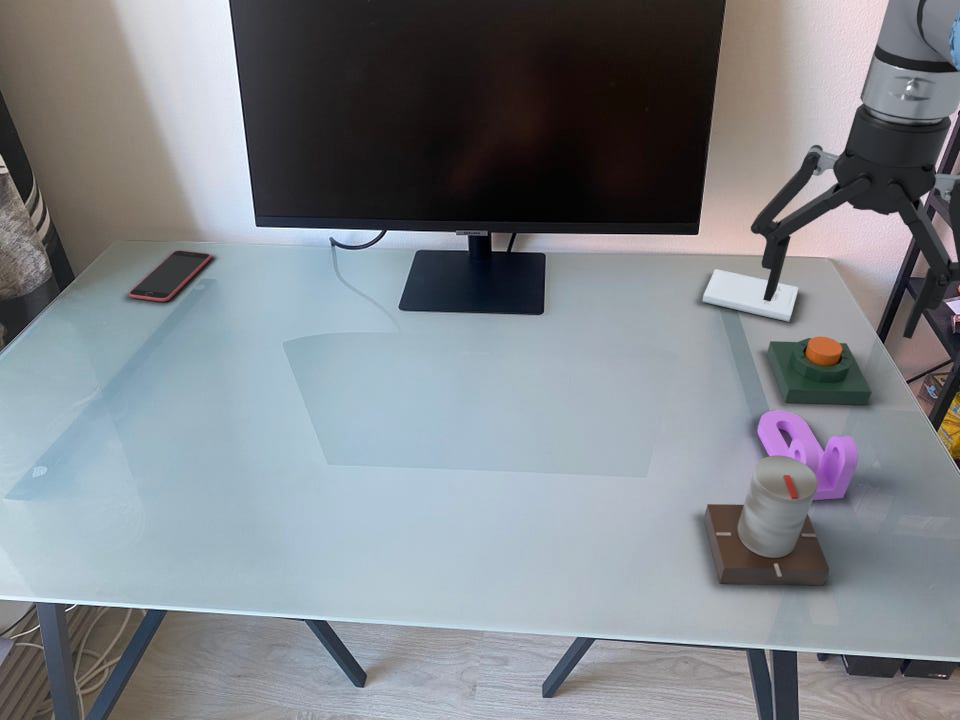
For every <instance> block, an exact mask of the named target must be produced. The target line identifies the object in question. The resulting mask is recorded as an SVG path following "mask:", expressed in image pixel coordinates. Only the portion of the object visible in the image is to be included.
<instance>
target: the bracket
mask: <svg viewBox="0 0 960 720" xmlns="http://www.w3.org/2000/svg"><path fill="white" fill-rule="evenodd" d="M780 430H783V431H785V432H786V433H787V434H788V435H789V436H790V438H791V442H790V445H789V446H788V443H787V442H786V440H785V438H784V437H783V435H782V433H781V431H780ZM756 431H757V435H758V437H759V440H760V441H761V443H762V445H763V447H764V448H765V451H766V453H767V454H768V456H774V455H780V456H787V457H791V458H794V459H796V460H798V461H800V462H802V463H804V464H805V465H806V466H808V467H809V468H810V469H811V470H812V471H813V473H814V474H815V476H816V478H817V482H818V486H817V490H816V493H815V495H814V498H813V500H812V501H820V500H834V499H835V500H837V499H844V497H845V494H846V492H847V489H848V487H849V485H850V483H851V480H852V477H853V476H854V473H855V471H856V468H857V466H858V462H859V451H858V447H857V444H856V442H855V440H854V438H852V436H851V435H847V434H846V435H845V434H844V435H832V436H831V437H830V438H829V439H828V441H827V444H826V447H825V449H824V450H823V448H822V446H821V444H820V443H819V441H818V440H817V438H816V436H815V435H814V433H813V431H812V430H811V428H810V427H809V425H808V423H807V422H806V421H805V420H804V419H803V418H802V417H801V416H799V415H797V414H795V413H793V412H791V411H786V410H781V409H780V410H779V409H775V410H769V411H766V412H765V413H763V414H762V415H761V417H760V419H759V422H758V425H757V429H756Z"/></svg>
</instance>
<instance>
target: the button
mask: <svg viewBox="0 0 960 720" xmlns="http://www.w3.org/2000/svg"><path fill="white" fill-rule="evenodd" d="M811 338H812V339H810V340H809V343H808V346H807V349H806V352H805V354H806V357H807V358H808V359H809V360H811V361H812V362H814V363H817V364H820V365H823V366H832V365H835V364H837V363H838V361H839V358H840V355H841V353H842V346H841V345H840V344H839V343H840V342H839V341H837V340H835V339H833V338H831V337H828V336H814V337H811Z"/></svg>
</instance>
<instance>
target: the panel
mask: <svg viewBox="0 0 960 720" xmlns="http://www.w3.org/2000/svg"><path fill="white" fill-rule="evenodd" d="M743 506H744V504H729V503H728V504H723V503H721V504H717V503H715V504H714V503H713V504H712V503H708V504H707V505H706V509H705V513H704V516H703V523H704V527H705V531H706V536H707V539H708V543H709V547H710V550H711V554H712V558H713V562H714V567H715V570H716V574H717V578H718V582H719V584H723V585H725V584H728V585H729V584H732V585H787V586H788V585H789V586H795V585H796V586H824V585H825V582H826V579H827V577H828V575H829V572H830V566H829V565H828V561H827V559H826V556H825V554H824V551H823V549H822V547H821V544H820V541H819V539H818V536H817V533H816V531H815V528H814V526H813V524H812V521H811V518H810V516H809V513H808V514H807V516H806V519H805V521H804V524H803V527H802V529H801V532H800V535H799V537H798V540H797V542H796V545H795V547H794V549H793V551H792V552H791V553H789V554H788V555H786V556H783V557H779V558H769V557H764V556H761V555H758V554H756V553H754V552H752V551H751V550H749V549H748V548H747V547H746V546H745V545H744V544H743V543H742V541H741V540H740V538H739V536H738V532H737V526H738V523H739V519H740V516H741V513H742V509H743Z"/></svg>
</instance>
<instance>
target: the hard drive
mask: <svg viewBox="0 0 960 720" xmlns="http://www.w3.org/2000/svg"><path fill="white" fill-rule="evenodd" d="M767 283H768V279H763V278H759V277H755V276H750V275H745V274H741V273H736V272H731V271H727V270H722V269H718V268H715V269H714V271H713V273H712V275H711V277H710V279H709V282H708V284H707V286H706V288H705V289H704V292H703V295H702V303H705V304H710V305H714V306H718V307H723V308H728V309H732V310H736V311H741V312H745V313H747V314H748V313H750V314H752V315H756V316H762V317H765V318H770V319H775V320H779V321H784V322H788V323H790V321H791V317H792V314H793V311H794V307H795V303H796V300H797V296H798V292H799V290H800V287H799V286H795V285H790V284H786V283H781V282H778V286H777V289H776V291H775V293H774V295H773V297H772V299H771V301H766V300H763V299H764V295H765V291H766V287H767Z"/></svg>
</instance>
